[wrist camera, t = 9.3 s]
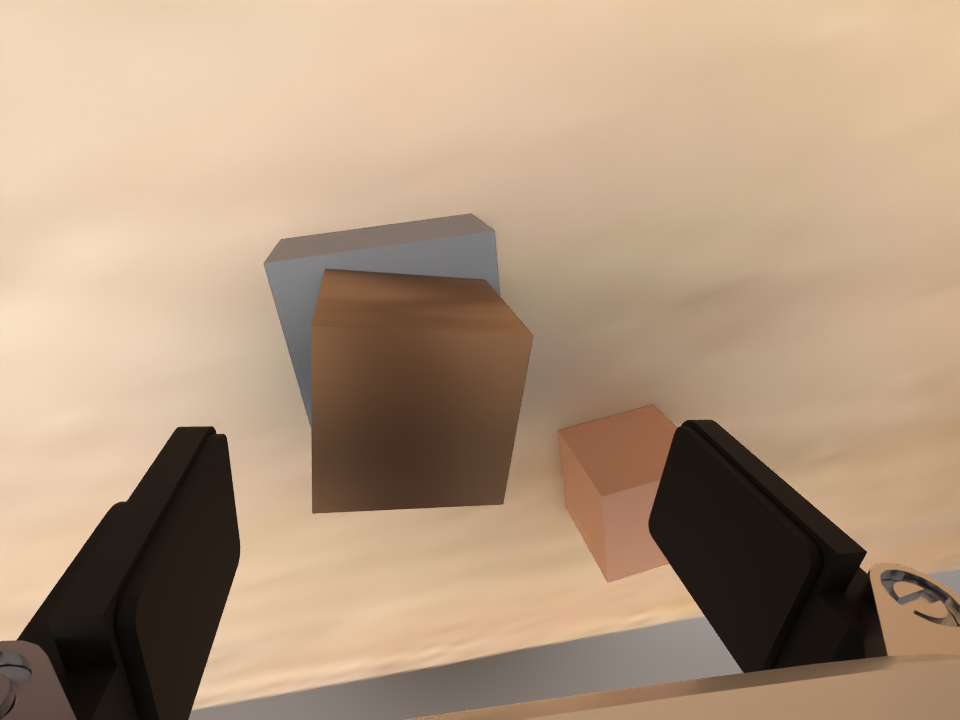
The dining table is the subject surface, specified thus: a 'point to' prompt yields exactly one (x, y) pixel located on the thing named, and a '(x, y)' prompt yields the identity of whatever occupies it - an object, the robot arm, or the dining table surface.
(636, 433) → the terracotta cube
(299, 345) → the blue-grey square box
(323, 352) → the walnut cube
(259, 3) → the dining table surface
